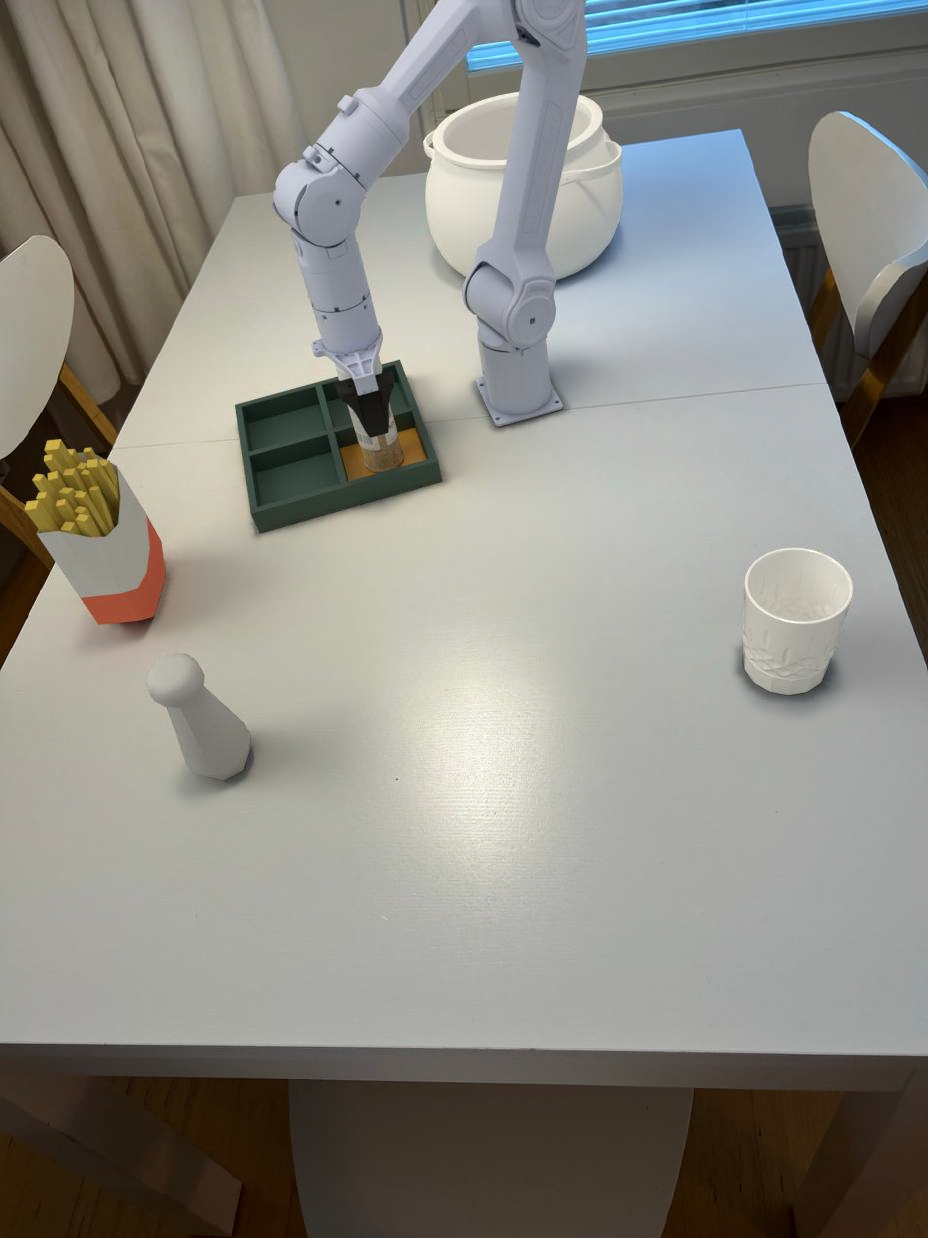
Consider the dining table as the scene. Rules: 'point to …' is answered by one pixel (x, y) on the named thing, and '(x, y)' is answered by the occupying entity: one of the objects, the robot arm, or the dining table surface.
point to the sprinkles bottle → (377, 438)
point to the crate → (324, 453)
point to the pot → (475, 174)
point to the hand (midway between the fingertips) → (371, 412)
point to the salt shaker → (199, 718)
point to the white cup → (793, 618)
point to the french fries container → (98, 535)
